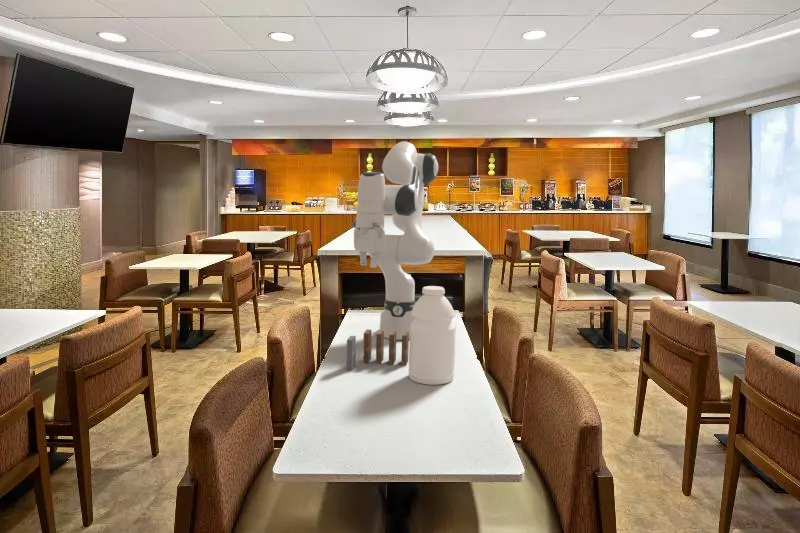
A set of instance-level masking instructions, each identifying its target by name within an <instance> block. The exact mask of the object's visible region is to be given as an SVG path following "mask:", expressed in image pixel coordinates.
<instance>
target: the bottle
mask: <svg viewBox="0 0 800 533" xmlns="http://www.w3.org/2000/svg"><path fill="white" fill-rule="evenodd" d="M421 289H422V291H421V293H422V295H421V296H420V297H419V298H418V299H417V300H416V301H415V302H416V303H415V305H414V306H413V309H412V311H411V316H412V317H413V318H414V321H413V322H412V323H411V324H410V339H409V351H408V365H409V366H408V377H409V379H410V380H411V381H412V382H415V383H417V384H421V385H422V384H423V385H428V386H429V385H430V386H432V385H433V386H434V385H435V386H436V385H437V386H439V385H444V384H448V383H451V382H452V381H453V380H454V378H455V358H456V357H455V356H456V354H455V353H456V349H455V348H456V347H455V346H456V330H457V328H456V325H455V324H454V323H453V322H452V320H453V319H454V318H455V317H456V313H455V311H454V308H453V306H452V304H451V303H450V301H449V300H448V299H447V297H446V296H445V294H446V290H445V288H444V287H443V286H440V285H439V286H437V285H428V286H423V287H422V288H421Z"/></svg>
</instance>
